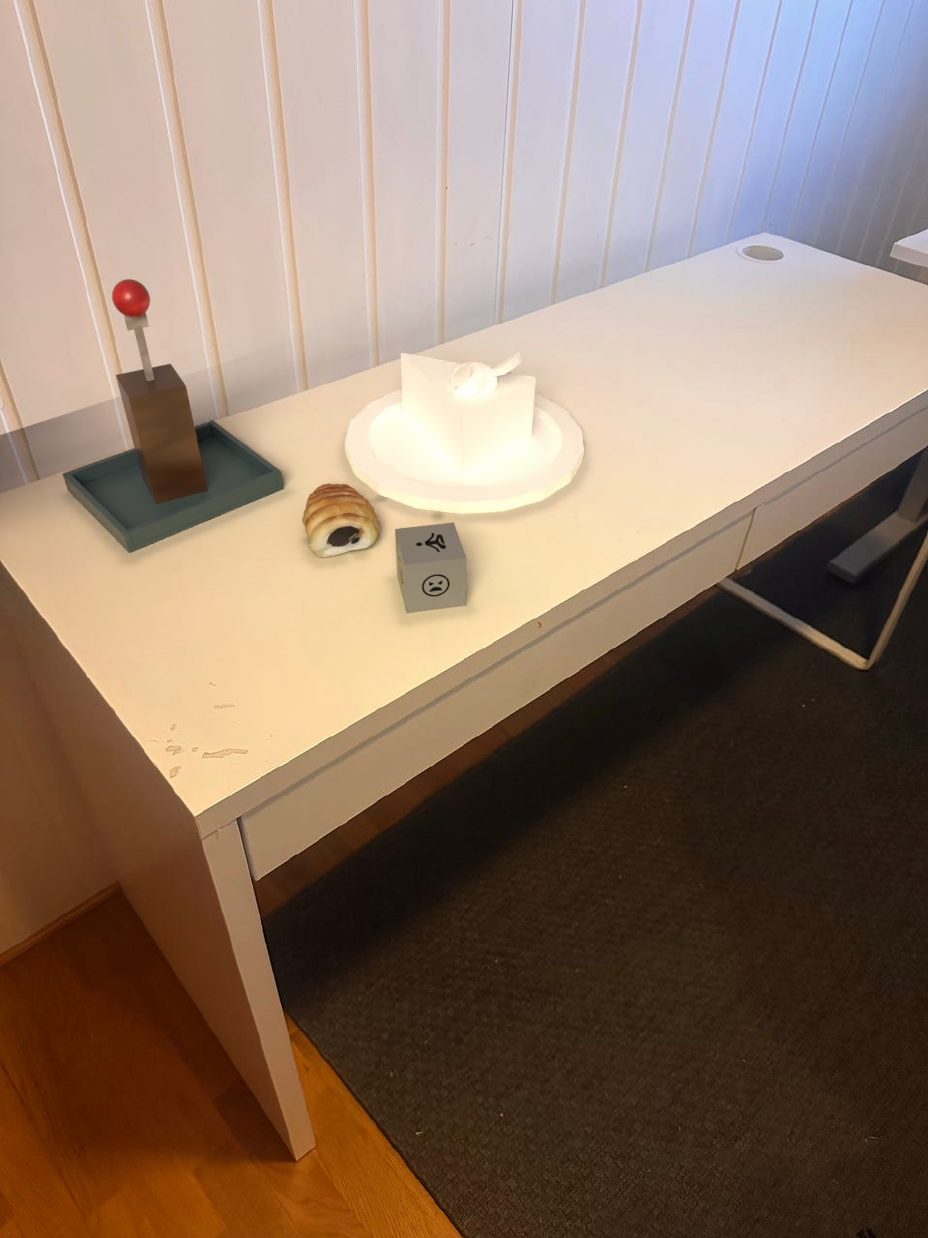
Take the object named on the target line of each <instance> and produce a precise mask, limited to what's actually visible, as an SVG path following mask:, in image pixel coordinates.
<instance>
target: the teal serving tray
mask: <svg viewBox="0 0 928 1238" xmlns="http://www.w3.org/2000/svg"><path fill="white" fill-rule="evenodd" d="M194 427H195V432H196V437H197V442H198V446H199V451H200V456H201V461H202V466H203V471H204V475H205V480H206V485H207V491H204V492H200V493H196V494H193V495H189V496H185V497H181V498H177V499H174V500H170V501H166V502H162V503H158V504H156V503H155V501H154V499H153V497H152V496H151V494H150V492H149V490H148V488H147V486H146V484H145V482H144V480H143V478H142V474H141V470H140V466H139V463H138V459H137V455H136V451H135V447H133V448H130V449H127V450H124V451H122V452H119V453H116V454H113V455H110V456H108V457H105V458H102V459H99V460H95V461H93V462H90V463H88V464H85V465H83V466H79V467H77V468H74V469H71V470H68V471H65V472H62V477H63V480H64V483H65V486H66V490H67V492H69V494H71V495H72V497H74V499H76V501H77V502H78V503H79V504H80V505H81V506H82V508H84V509H85V510H86V511H87V512H88V513H89V514H90V515H91V516H92V517H93V518H94V519H95V520H96V521H97V522H98V523H99V524H100V525H101V526H102V527H103V528H104V529H105V530H106V531H107V532H108V533H109V534H110V536H112V538H114V539H115V540H116V541H117V542H118V543H119V545H121V546H122V547H123V548H124V549H125V550H126V551H127V553H128V554H130V553H132V552H135V551H139V550H141V549H142V548H145V547H147V546H150V545H152V544H155V543H157V542H159V541H162V540H164V539H166V538H169V537H171V536H174V535H176V534H179V533H181V532H183V531H186V530H188V529H191V528H193V527H196V526H198V525H200V524H203V523H205V522H208V521H209V520H212V519H214V518H217V517H219V516H222V515H225V514H226V513H227V514H228V513H229V512H231V511H233V510H237V509H238V508H241V507H243V506H246V505H248V504H251V503H253V502H255V501H258V500H260V499H263V498H265V497H268V496H270V495H272V494H274V493H277V492H279V491H283V490H284V488H285V487H284V481H283V473H282V470H280V469H279V468H277V467H276V466H274V465H273V464H272V463H271V462H270V461H269V460H267V459H265V458H264V457H263V456H261V454H259V453H257V452H256V450H255V451H254V450H253V449H252V448H251V447H249V446H248V445H246V443H244V442H242V441H241V440H240V439H238V438H237V437H236V436H235V435H234V434H232V433H230V431H228V430H227V429H226V428H224V427H223V426H222V425H220V424H219V423H217V422H216V421H214V419H212V420H209V421H206V422H204V423H203V422H202V423H201V424H197V425H194Z"/></svg>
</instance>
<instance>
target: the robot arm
mask: <svg viewBox="0 0 928 1238" xmlns="http://www.w3.org/2000/svg"><path fill="white" fill-rule="evenodd" d="M4 408H5V402H4V399H3V396H2V393H1V392H0V411H2V410H3V409H4Z"/></svg>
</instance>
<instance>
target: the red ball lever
mask: <svg viewBox="0 0 928 1238" xmlns="http://www.w3.org/2000/svg"><path fill="white" fill-rule="evenodd" d="M111 300H112V303H113V306H114V307H115V309H116V310H117V311H118V312H119V313H120V314H122V315H123V317H124V321H125V326H126V330H127V331H128V332H129V331H134V336H135V340H136V344H137V348H138V352H139V356H140V361H141V364H142V369H138V370H133V371H129V372H123V373H118V374H115V378H116V381H117V386H118V390H119V393H120V398H121V401H122V405H123V409H124V412H125V416H126V420H127V424H128V429H129V431H130V435H131V439H132V443H133V446H134V447H133V448H135V451H136V455H137V459H138V463H139V466H140V470H141V474H142V478H143V480H144V482H145V484H146V486H147V488H148V490H149V492H150V494H151V496H152V497H153V499H154V501H155V503H156V504H158V503H162V502H166V501H170V500H174V499H177V498H181V497H185V496H189V495H193V494H196V493H200V492H204V491H207V485H206V480H205V475H204V471H203V466H202V461H201V456H200V451H199V446H198V442H197V437H196V432H195V423H194V418H193V413H192V409H191V408H192V407H191V403H190V399H189V394H188V388H187V385H186V384H185V383H184V381H183V379H182V378H181V377H180V375H179V374H178V372H177V370H175V368H174V366H173V365H172V363H166V364H162V365H158V366H152V362H151V358H150V354H149V349H148V345H147V340H146V336H145V332H144V329H145V328H149V327H150V324H149V320H148V315H147V312H148V310H149V308H150V305H151V297H150V292H149V291H148V288H147V287H146V286H145V285H144V284H143V283H142V282H140V281H138V280H135V279H131V278H127V279H122V280H121V281H118V282H117V283H116V285H114V287H113V289H112V293H111Z"/></svg>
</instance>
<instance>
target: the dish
mask: <svg viewBox="0 0 928 1238" xmlns="http://www.w3.org/2000/svg"><path fill="white" fill-rule="evenodd" d="M522 361H523V357H522V356H521V354H520V352H519V351H516V352H514V353H512V354H511V355H509V356H508V357H507V358H505V359H504V360H503V361H501V362H500V363H498V364H496V365H495V366H494V367H491V366H490V365H488V364H486V363H484V362H481V361H467V362H463V363H460V362H455V361H450V360H444V359H439V358H433V357H427V356H421V355H418V354H417V355H416V354H411V353H405V352H400V374H401V388H400V389H397V390H395V391H392V392H390V393H388V394H386V395H384V396H382V397H380V398H378V399H376V400H373V401H371V402H369V403H367V405H366V406H365V407H363V408H362V410H360V411H359V412H358V413H357V414H356V415H355V416H354V417H353V418H352V419H351V420H350V421H349V423H348V424H349V425H348V428H347V432H346V435H345V440H344V452H345V455H346V458H347V461H348V462H349V463H348V464H349V466H350V468H351V470H352V472H353V474H354V476H355V477H357V479H359V480H360V481H362V482H363V483H364V484H365V485H367V486H368V487H369V488H370V489H371V490H372V491H374V492H375V493H377V494H378V495H379V496H382V497H385V498H388V499H390V500H393V501H396V502H397V503H400V504H404V505H406V506H409V507H411V508H414V509H419V510H427V511H434V512H442V513H450V514H457V515H465V514H466V515H467V514H482V513H483V514H484V513H496V512H498V513H499V512H506V511H510V510H513V509H517V508H519V507H523V506H527V505H530V504H534V503H538V502H541V501H544V500H545V499H547V498H548V497H551V496H552V495H553V494H554V493H556V492H558V491H559V490H561V489H563V488H564V487H565V486H567V485H568V484H570V483H571V482H572V480H573V479H574V477H575V475H576V474H577V472H578V470H579V468H580V467H581V465H582V464H583V462H584V453H585V445H584V438H583V430H582V427H580V425H579V424H578V422H577V421H576V420H575V419H574V418H573V417H572V415H570V413H569V412H568V411H567V409H565V408H563V407H562V406H560V405H558V404H556V403H554V402H553V401H551V400H550V399H548V398H546V397H544V396H543V395H540V394H537V393H536V379H537V378H536V376H533V375H527V374H521V373H515V372H510V371H512V370H513V369H515V368H516V367H517V366H518V365H520V364H521V363H522Z"/></svg>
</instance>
